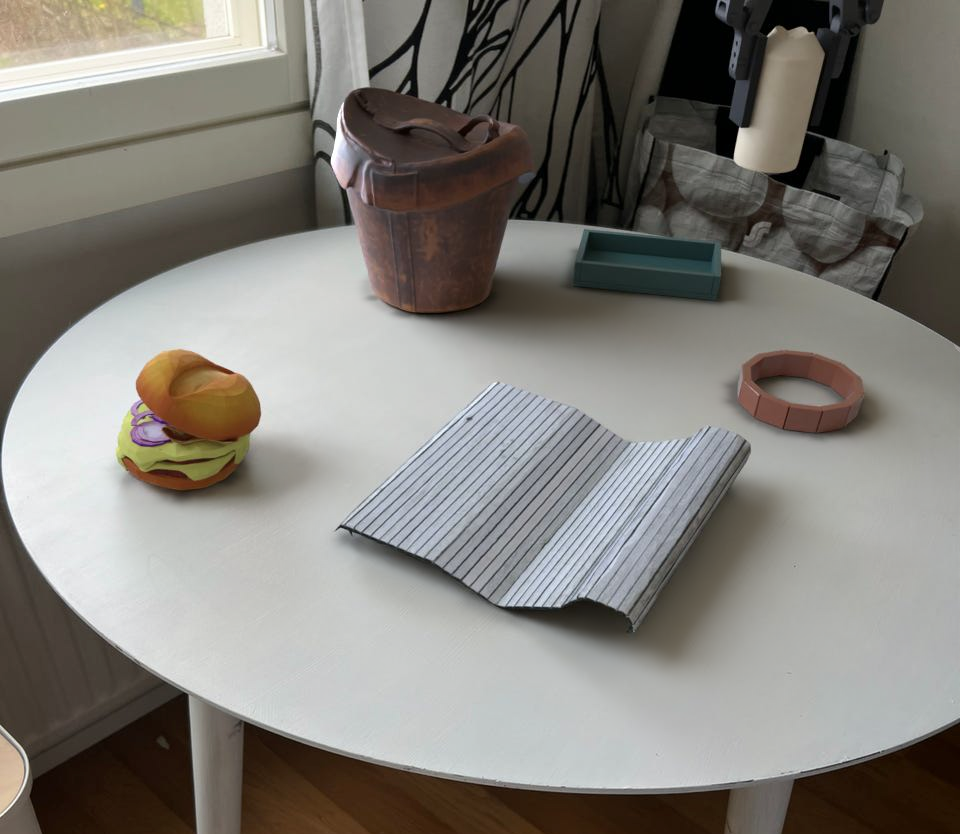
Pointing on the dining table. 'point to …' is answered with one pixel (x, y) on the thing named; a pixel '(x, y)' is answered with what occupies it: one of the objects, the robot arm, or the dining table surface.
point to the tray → (648, 264)
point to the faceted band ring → (799, 414)
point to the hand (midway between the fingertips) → (773, 121)
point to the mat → (551, 504)
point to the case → (428, 195)
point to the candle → (781, 102)
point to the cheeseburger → (187, 422)
